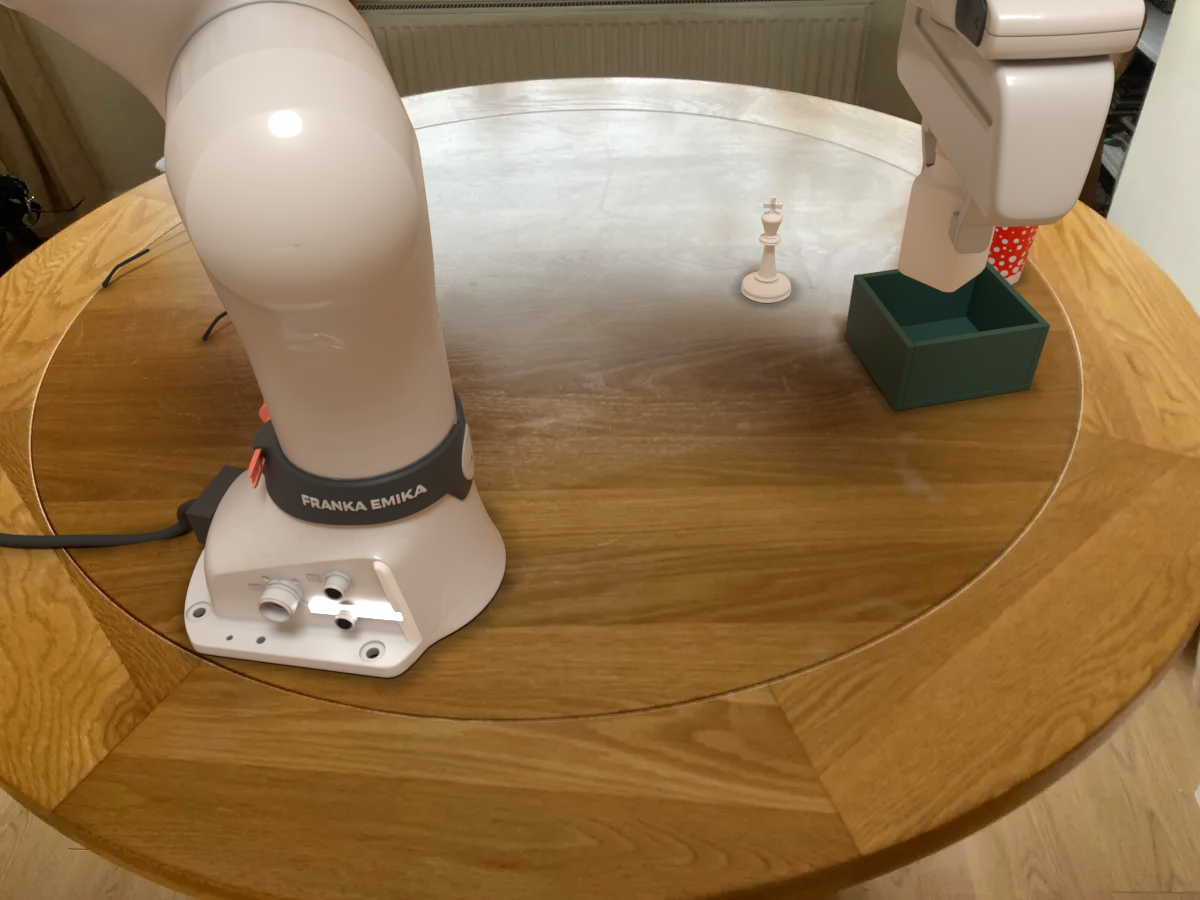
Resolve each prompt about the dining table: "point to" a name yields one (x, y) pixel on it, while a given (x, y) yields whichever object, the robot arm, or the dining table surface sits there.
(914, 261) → the pepper shaker
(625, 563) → the dining table surface
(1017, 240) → the beverage cup
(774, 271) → the chess piece
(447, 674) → the dining table surface
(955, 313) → the bin
